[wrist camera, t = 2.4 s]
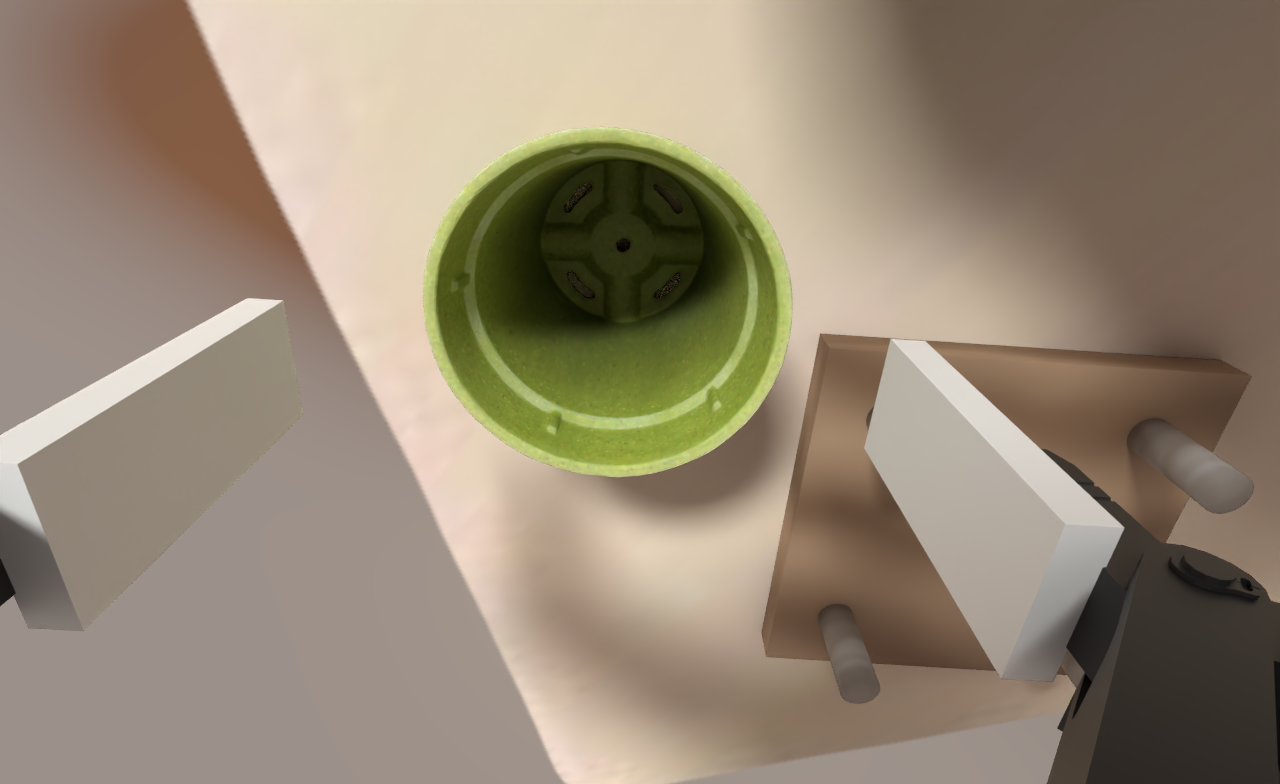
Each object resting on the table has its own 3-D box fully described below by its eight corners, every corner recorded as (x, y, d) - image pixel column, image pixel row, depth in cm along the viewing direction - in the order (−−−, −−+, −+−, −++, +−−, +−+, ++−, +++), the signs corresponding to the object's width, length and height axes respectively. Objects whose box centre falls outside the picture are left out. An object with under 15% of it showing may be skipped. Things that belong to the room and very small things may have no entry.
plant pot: (628, 402, 28) (619, 533, 20) (445, 247, 25) (350, 329, 17) (800, 240, 24) (869, 319, 17) (612, 42, 22) (590, 27, 14)
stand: (820, 333, 26) (859, 395, 21) (1220, 360, 26) (1353, 427, 21) (761, 632, 33) (780, 732, 28) (1077, 652, 33) (1152, 753, 28)
